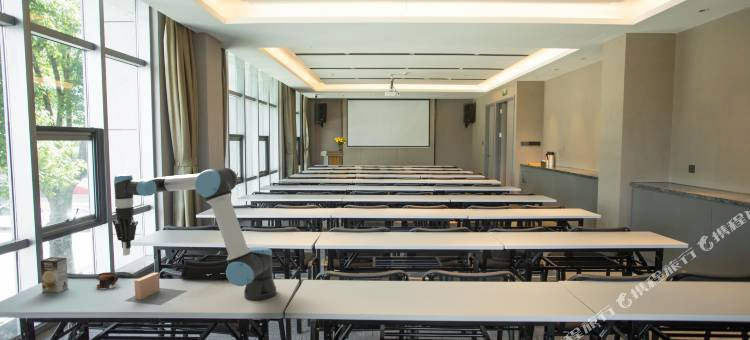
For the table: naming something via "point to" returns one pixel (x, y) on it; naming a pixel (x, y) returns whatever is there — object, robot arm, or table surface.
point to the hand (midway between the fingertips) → (126, 254)
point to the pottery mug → (106, 280)
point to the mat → (158, 296)
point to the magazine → (204, 270)
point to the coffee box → (54, 274)
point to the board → (146, 285)
